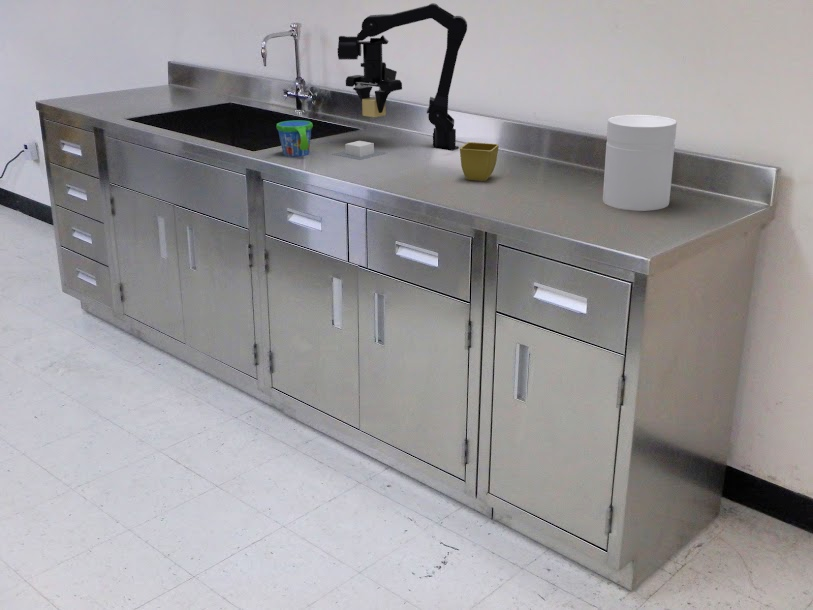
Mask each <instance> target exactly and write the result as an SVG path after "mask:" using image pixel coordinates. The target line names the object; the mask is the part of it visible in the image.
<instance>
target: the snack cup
mask: <svg viewBox="0 0 813 610" xmlns="http://www.w3.org/2000/svg"><path fill="white" fill-rule="evenodd" d="M313 126H314V125H313V122H311V121H310V120H302V119H301V120H299V119H297V120H284V121H280V122H278V123H276V130H277V132H278V135H279V141H280V144H281V149H282V154H283V156H285V157H291V158H293V157H296V158H297V157H304V156H308V155H310V146H311V136H312V129H313Z"/></svg>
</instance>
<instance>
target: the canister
mask: <svg viewBox="0 0 813 610" xmlns="http://www.w3.org/2000/svg"><path fill="white" fill-rule="evenodd" d="M677 124H678V122H677V120H676V119H674V118H671V117H667V116H662V115H655V114H654V115H653V114H621V115H616V116H612V117H609V118H608V119H607V129H606V130H607V132H606V145H605V146H606V147H605V158H604V159H605V160H604V175H603V177H604V178H603V189H602V203H603V204H605V205H606V206H609V207H611V208H615V209H619V210H624V211H637V212H639V211H640V212H643V211H644V212H645V211H646V212H647V211H657V210H662V209H664V208H665V209H666V208H667V207H668V206H669V204H670V200H671V199H670V197H671V188H672V176H673V168H674V167H673V166H674V156H675V147H676V145H675V141H676V137H677V136H676V134H677Z"/></svg>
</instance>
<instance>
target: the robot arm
mask: <svg viewBox="0 0 813 610" xmlns="http://www.w3.org/2000/svg"><path fill="white" fill-rule="evenodd" d="M430 19H432V20H434V21H435V22H437V23H438V24H439V25H441V26H442V27H444V28H445V29H447V30H446V31H447V33H446V34H447V35H446V36H447V37H446V50H445V55H444V60H443V63H442V68H441V69H442V70H441V72H440V76H439V77H440V78H439V82H438V87H437V91H436V93H435V96H434V97H432V96H430V97H429V101H428V103H429V104H428V107H427V109H426V114H428V116H427V118H428V121H429V122H430V124H431V125H433V126H434V128H433V133H432V146H431V148H433V149H438V150H445V151H455V150H458V149H460V147H459V146H458V145H456V143H457V141H456V140H457V139H456V137H457V136H456V134H457V132H456V131H457V130H456V128H454V127H455V119H454V118H453V117H452V116H451V115H450V114H449V95H450V94H449V93H450V91H451V90H450V89H451V85H452V81H453V78H454V77H453V76H454V73H455V72H454V71H455V67H456V64H457V59H458V54H459V50H460V49H461V45H462V44H463V41H464V39H465V36H466V33H467V32H468V22H467V20H466V19H465V18H464V17H463V16H462V15H454V14H452V13H451V12H449V11H447V10H446V9H444V8H442V7H440V6H439V5H438V4H437V3H430V4H427V5H424V6H419V7H415V8H412V9H408V10H403V11H399V12H396V13H390V14H388V13H387V14H386V13H384V14H370V15H368V16H367V17H365V18H364V19H363V21H362V22H361V29H360V32H358V33H357V34H356V36H347V35H346V36H345V35H339V36H338V41H337V42H338V45H337V58H338V61H339V60H346V61H348V60H349V61H350V60H353V61H354V60H359V59H358V58H359V57H363V58H362V59H363V60H362V61H363V62H361V63H360V67H361V68H363V75H362V74H354V75H349V76H347V77H346V79H345V87H350V88H351V87H352V90H353V91H355V92H356V93H355V94H357V96H358V97H359V100H360V102H362V99H365V98H370V97H371V92H372V89H373V87H378V90H374V97H376V102H377V107H378V111H379V113H382V111H383V108H384V105H385V102H387V99H388V97H389V95H390V94H391V93H393V92H396V91H401V90H403V82H402V81H401V80H400V79H396V77H397V70H394V69H391V68H388V67H387V64H386V62H383V45H387V44H389V42H390V41H389V40H388V39H387V38H386V37H385V35H381V34H383V33H385V32H388V31H389V30H391V29H394V28H396V27H400V26H405V25H409V24H414V23H417V22H420V21H424V20H425V21H426V20H430ZM379 35H381V36H380V37H376V36H379ZM367 38H370V39H369V40H366V41H365V39H367ZM362 54H363V55H362Z"/></svg>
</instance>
